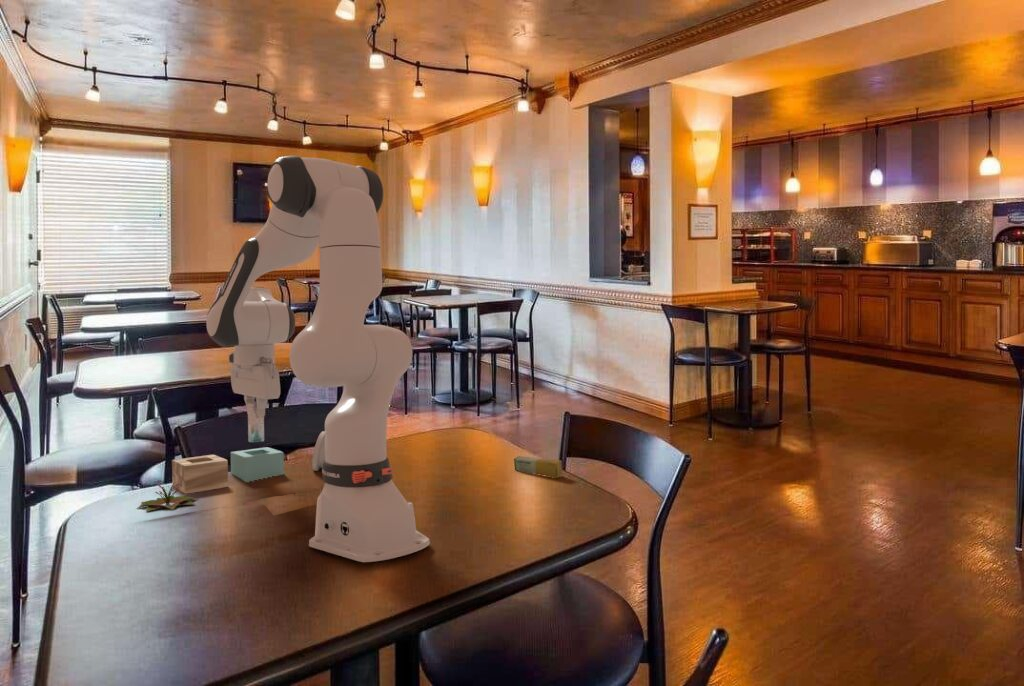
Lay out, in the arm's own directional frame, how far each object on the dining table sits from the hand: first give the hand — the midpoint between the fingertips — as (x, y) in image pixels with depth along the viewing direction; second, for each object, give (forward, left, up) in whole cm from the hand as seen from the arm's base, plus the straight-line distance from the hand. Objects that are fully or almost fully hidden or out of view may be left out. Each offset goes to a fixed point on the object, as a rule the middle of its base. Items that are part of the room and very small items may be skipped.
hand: (255, 415), depth 164 cm
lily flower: (-11, +23, -16) cm, 30 cm away
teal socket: (0, 0, -15) cm, 15 cm away
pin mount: (0, +13, -15) cm, 20 cm away
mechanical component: (-6, -14, -15) cm, 21 cm away
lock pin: (0, 0, -6) cm, 6 cm away
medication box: (-46, -49, -15) cm, 68 cm away
